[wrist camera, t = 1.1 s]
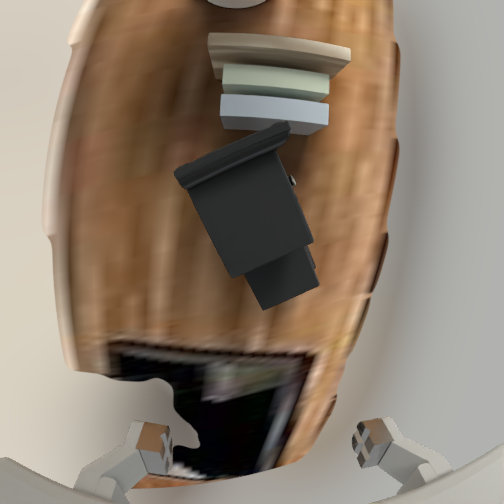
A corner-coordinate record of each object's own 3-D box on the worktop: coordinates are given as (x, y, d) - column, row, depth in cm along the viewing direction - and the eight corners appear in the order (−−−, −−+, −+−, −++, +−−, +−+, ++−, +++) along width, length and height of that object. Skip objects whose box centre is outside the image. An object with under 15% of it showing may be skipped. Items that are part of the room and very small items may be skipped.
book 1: (226, 87, 41) (223, 63, 31) (310, 94, 42) (329, 74, 32) (225, 103, 42) (222, 83, 31) (309, 110, 43) (329, 94, 32)
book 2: (225, 112, 42) (221, 94, 32) (309, 118, 43) (328, 104, 33) (223, 129, 43) (219, 115, 33) (308, 135, 44) (328, 125, 33)
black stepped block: (316, 266, 50) (369, 335, 28) (261, 291, 51) (277, 376, 28) (262, 143, 44) (286, 113, 22) (202, 170, 45) (168, 167, 22)
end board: (216, 69, 40) (208, 32, 27) (321, 78, 41) (350, 48, 28) (215, 79, 41) (207, 45, 27) (321, 88, 42) (350, 61, 28)
